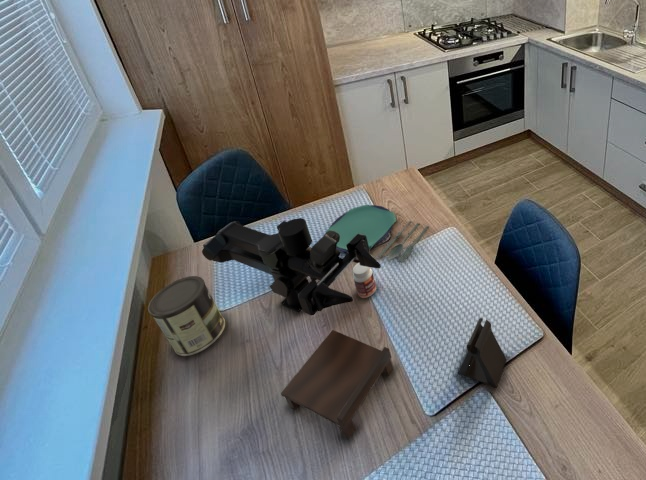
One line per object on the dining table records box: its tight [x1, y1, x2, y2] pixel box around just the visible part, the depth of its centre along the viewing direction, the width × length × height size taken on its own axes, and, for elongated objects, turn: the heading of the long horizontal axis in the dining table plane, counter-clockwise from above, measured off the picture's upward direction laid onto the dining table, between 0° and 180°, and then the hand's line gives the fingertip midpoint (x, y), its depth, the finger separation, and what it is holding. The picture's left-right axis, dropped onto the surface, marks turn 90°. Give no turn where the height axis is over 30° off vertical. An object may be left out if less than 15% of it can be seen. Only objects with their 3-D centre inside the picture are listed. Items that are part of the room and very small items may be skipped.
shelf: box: [280, 329, 394, 440], centre depth 84 cm, size 16×14×7 cm
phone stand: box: [457, 317, 507, 389], centre depth 85 cm, size 9×6×12 cm, turn 70°
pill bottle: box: [352, 263, 377, 299], centre depth 105 cm, size 5×5×8 cm
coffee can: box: [147, 275, 226, 357], centre depth 94 cm, size 10×10×14 cm
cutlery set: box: [325, 204, 430, 264], centre depth 123 cm, size 20×30×2 cm, turn 67°
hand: (366, 282), depth 89 cm, fingers open, 9 cm apart
